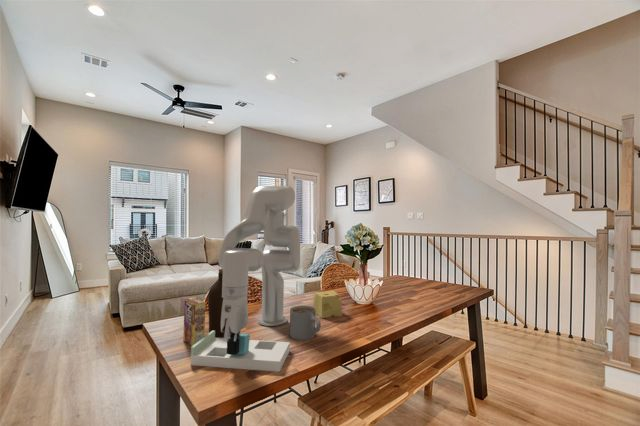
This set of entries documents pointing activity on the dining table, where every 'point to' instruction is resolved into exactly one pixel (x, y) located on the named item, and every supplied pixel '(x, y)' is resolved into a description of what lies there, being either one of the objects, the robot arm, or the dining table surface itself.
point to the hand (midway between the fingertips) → (232, 353)
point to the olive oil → (216, 306)
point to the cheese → (327, 304)
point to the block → (244, 343)
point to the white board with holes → (256, 358)
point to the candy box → (194, 320)
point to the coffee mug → (303, 322)
